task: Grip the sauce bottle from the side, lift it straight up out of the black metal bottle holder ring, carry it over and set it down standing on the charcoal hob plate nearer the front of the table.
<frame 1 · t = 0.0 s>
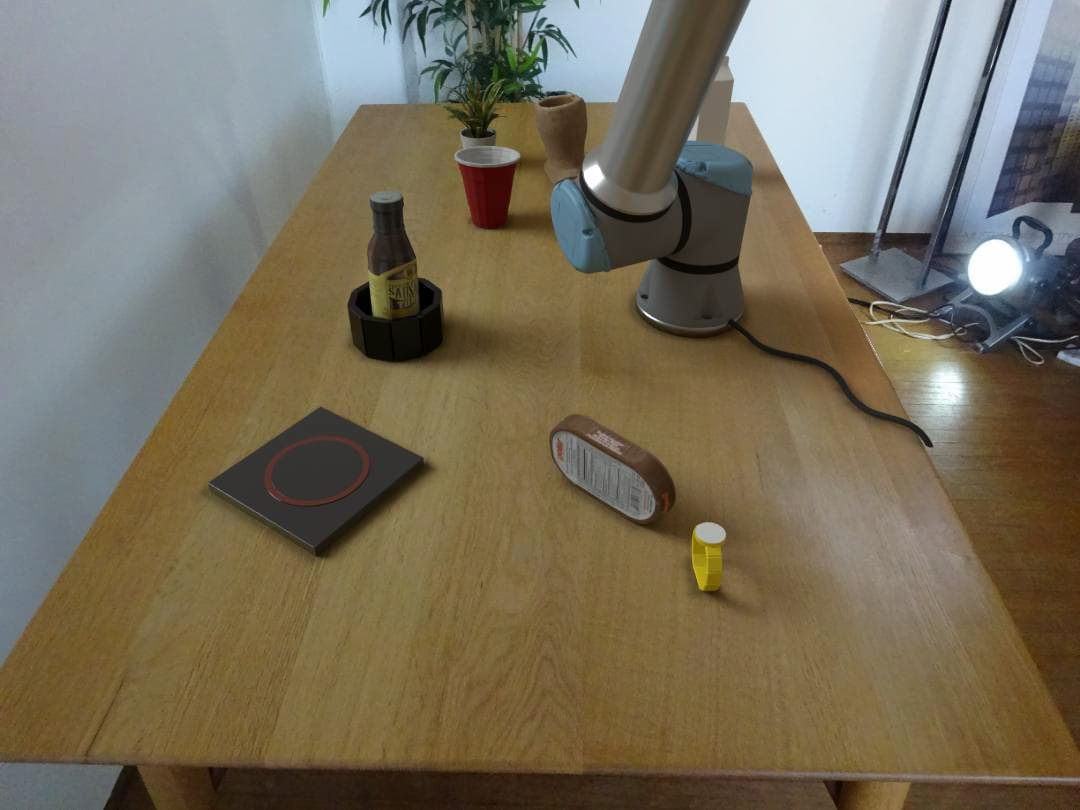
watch: (702, 578, 77), on the table
bottle holder: (399, 336, 109), on the table
clay boot vase: (567, 180, 153), on the table
tin: (605, 499, 85), on the table
house plant: (481, 162, 160), on the table
milk: (697, 179, 154), on the table
plastic cup: (489, 222, 138), on the table
hob plate: (319, 478, 87), on the table
sauce bottle: (399, 337, 109), resting in bottle holder
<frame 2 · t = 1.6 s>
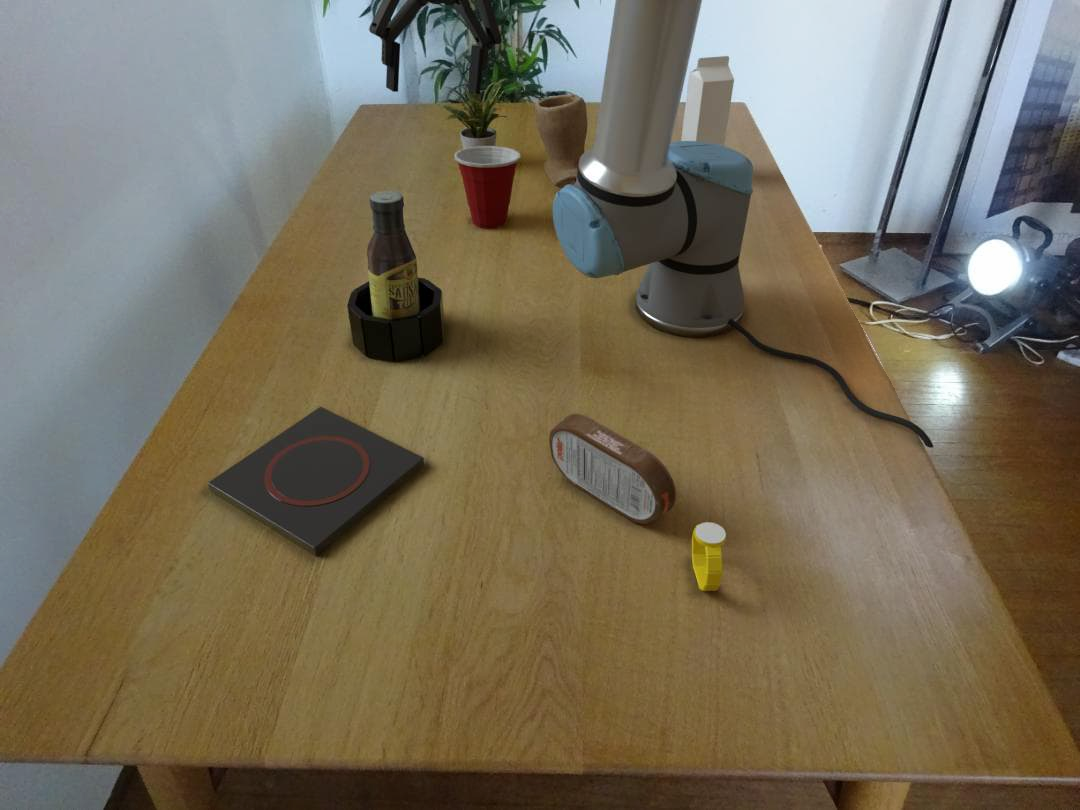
hand: (434, 91, 122), 23 cm above the table, tool pointing down, fingers open, 13 cm apart
nothing on the table moved.
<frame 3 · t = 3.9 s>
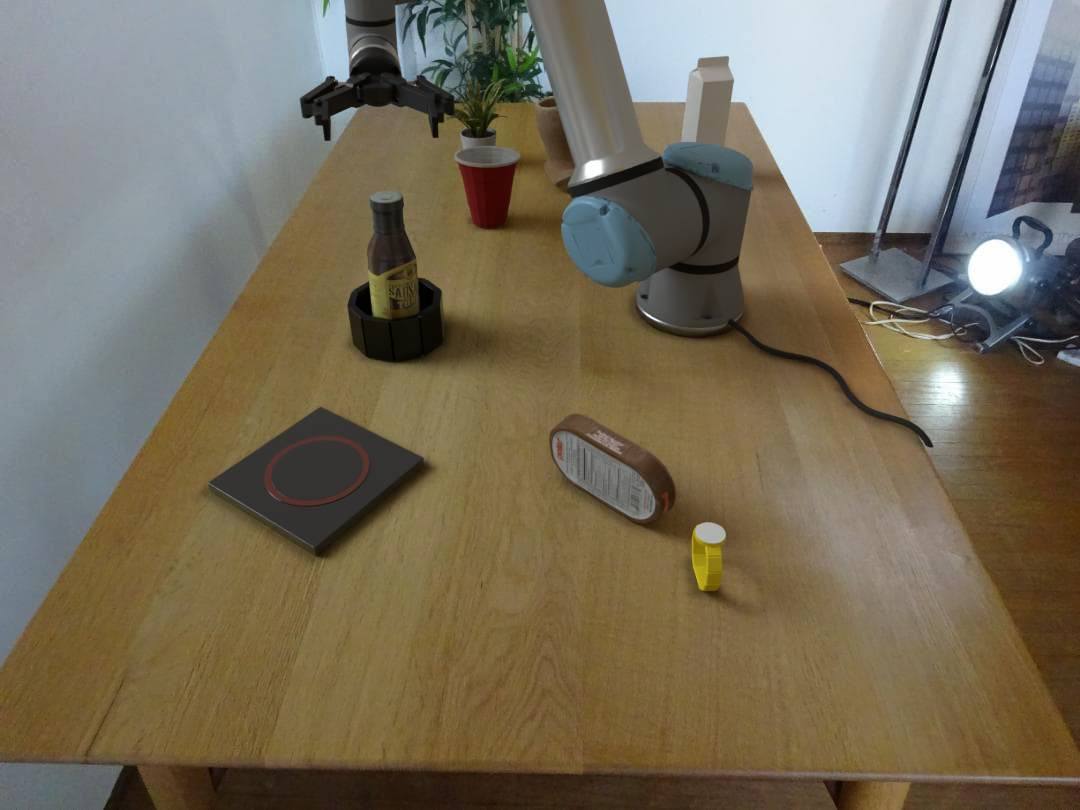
hand: (381, 129, 102), 25 cm above the table, tool horizontal, fingers open, 13 cm apart
nothing on the table moved.
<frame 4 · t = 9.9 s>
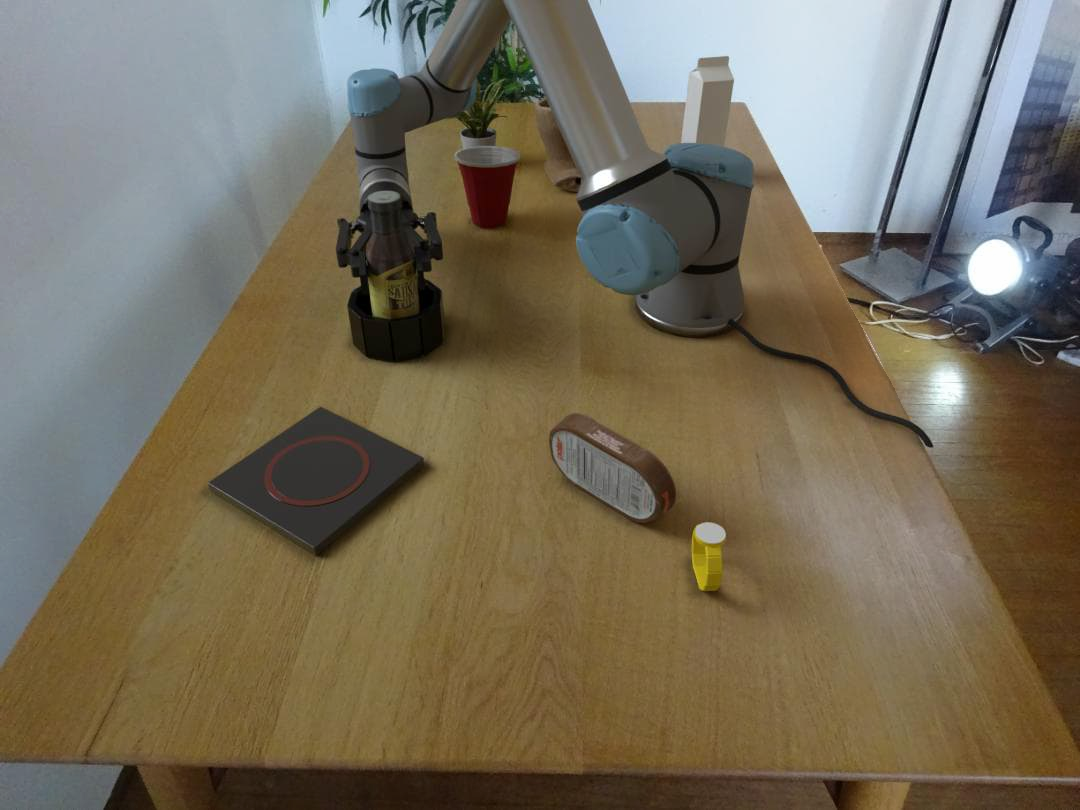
hand: (392, 282, 99), 11 cm above the table, tool horizontal, fingers closed on sauce bottle, 6 cm apart
sauce bottle: (399, 337, 109), resting in bottle holder, touching gripper
everything else where it was.
when the fingers open (12 cm above the table, at t = 19.2 s): sauce bottle stays where it is, resting on hob plate.
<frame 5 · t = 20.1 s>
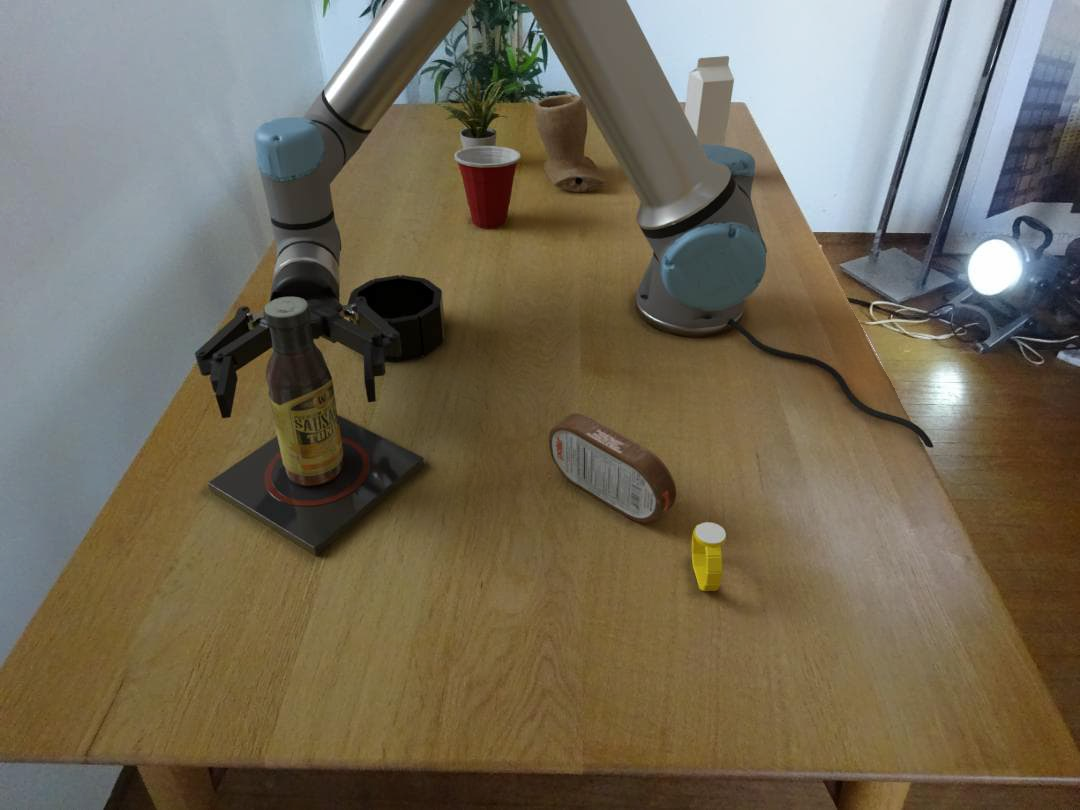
hand: (297, 399, 77), 13 cm above the table, tool horizontal, fingers open, 13 cm apart
sauce bottle: (317, 470, 86), point 1 cm above the table, touching hob plate
everything else where it was.
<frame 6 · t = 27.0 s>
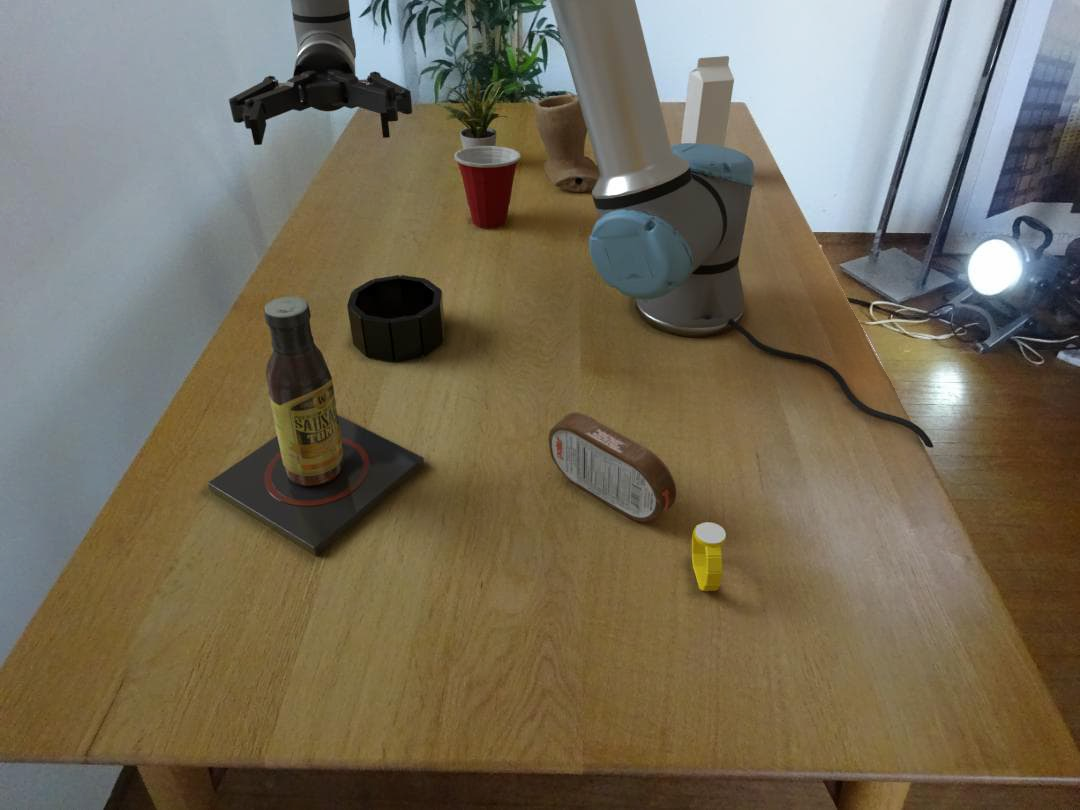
hand: (321, 128, 87), 30 cm above the table, tool horizontal, fingers open, 13 cm apart
nothing on the table moved.
at the end: sauce bottle inside the target area on the hob plate (0.1 cm from its centre), point 1.1 cm above the hob plate's base; sauce bottle tilted 0°; sauce bottle touching hob plate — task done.
